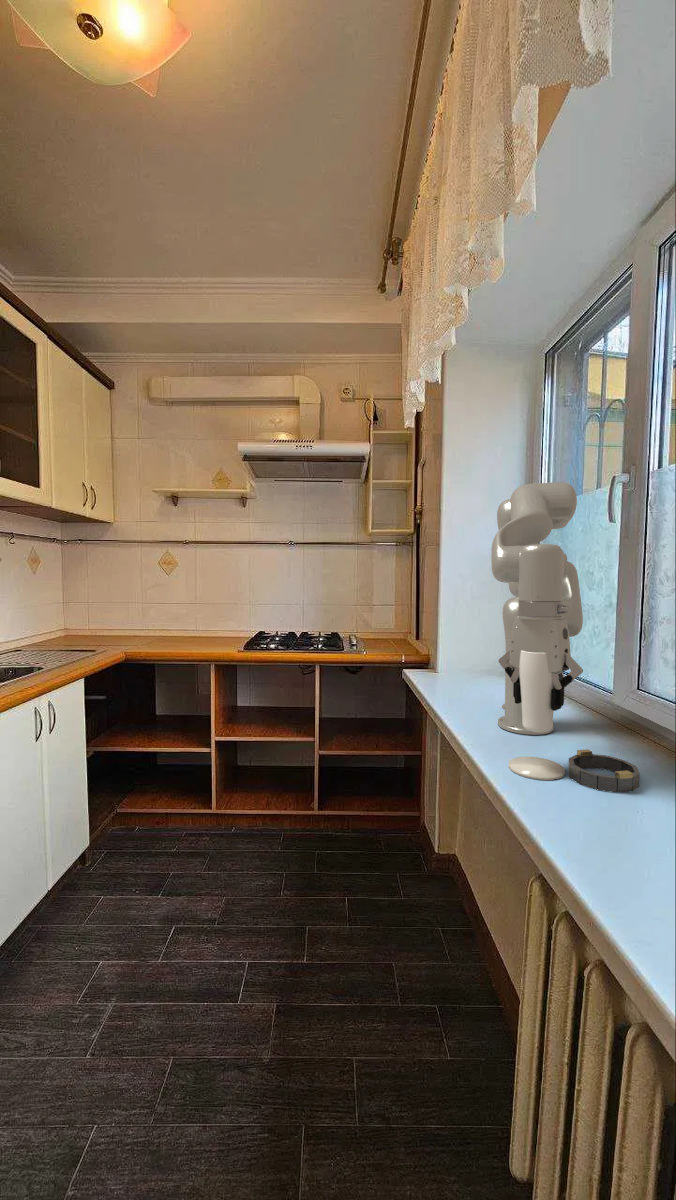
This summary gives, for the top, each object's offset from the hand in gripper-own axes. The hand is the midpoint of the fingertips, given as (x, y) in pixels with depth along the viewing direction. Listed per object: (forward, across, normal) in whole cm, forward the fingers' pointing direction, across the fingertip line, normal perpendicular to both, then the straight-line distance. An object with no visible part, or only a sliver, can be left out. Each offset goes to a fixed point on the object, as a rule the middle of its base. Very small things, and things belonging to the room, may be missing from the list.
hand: (537, 704), depth 95 cm
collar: (+13, -10, -5) cm, 17 cm away
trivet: (+13, 0, 0) cm, 13 cm away
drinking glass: (+5, 0, 0) cm, 5 cm away
